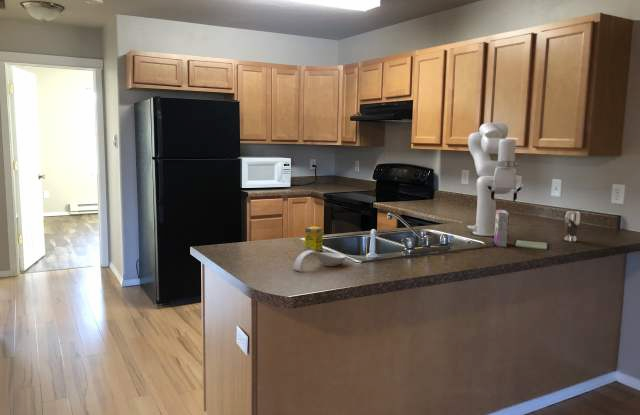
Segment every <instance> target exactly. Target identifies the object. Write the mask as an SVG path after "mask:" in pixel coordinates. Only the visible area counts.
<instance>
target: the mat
mask: <svg viewBox="0 0 640 415" xmlns="http://www.w3.org/2000/svg"><path fill="white" fill-rule="evenodd" d="M514 246H515V247H517V248H527V249H537V250H548V243H547V242H542V241H530V240H520V239H517V240H516V242H515V244H514Z"/></svg>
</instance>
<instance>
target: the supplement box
mask: <svg viewBox="0 0 640 415" xmlns="http://www.w3.org/2000/svg"><path fill="white" fill-rule="evenodd" d="M323 233H324V228H323V227H320V226H314V225H313V226H309V227H305V228H304V251H307V250H312V251H315V252H320V253H323V247H324V246H323V242H324V241H323V240H324V234H323Z"/></svg>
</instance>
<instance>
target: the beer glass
mask: <svg viewBox="0 0 640 415" xmlns="http://www.w3.org/2000/svg"><path fill="white" fill-rule="evenodd" d="M580 223H581V212H580V211H574V210H566V211H565V216H564V230H565V231H564V232H565V234H564V238H563V241H564V242H567V243H576V242H578V235H577V234H578V231H579V227H580Z"/></svg>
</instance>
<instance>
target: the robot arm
mask: <svg viewBox="0 0 640 415" xmlns="http://www.w3.org/2000/svg"><path fill="white" fill-rule="evenodd" d="M478 130H479V131H476V132H475V131H474V132H472V133H470V134H469V135H468V137H467V144H468V145H467V146H468V150H469V152H470V154H471V156H472V158H473V162H474V166H475V170H476V174H477V176H478V178H477V179H476V193H477V195H476V196H477V199H476V200H477V201H476V217H475V218H476V220H475V224H474V225H467V227H466V228H467V230H472V234H473V235H475V236H480V237H494V236H495V218H496V210H497V209H496V208H497V202H496V199H495V195H507V194H509V193H510V192H511V190H512V191H513V198H512V200H513V202H516V200H518V193H519V192H520V191H521V190H522V189H523V187H524V186H525V184H524V183H523V182H521V181H520V180H518V179H517V167H516V166H518V165H519V164H518V162H516V160H515V159H516V144H517V143H516V140H515V139H513V138H507V137H508V135H509V127H508V126H507V124H506V123H504V122H485V123H482V124H481V125H480V127H479V129H478ZM493 154H494V155H495V154H496V155H497V160H492V159H491V156H490V155H493ZM517 185H519V187H518V188H516V187H517Z"/></svg>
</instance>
